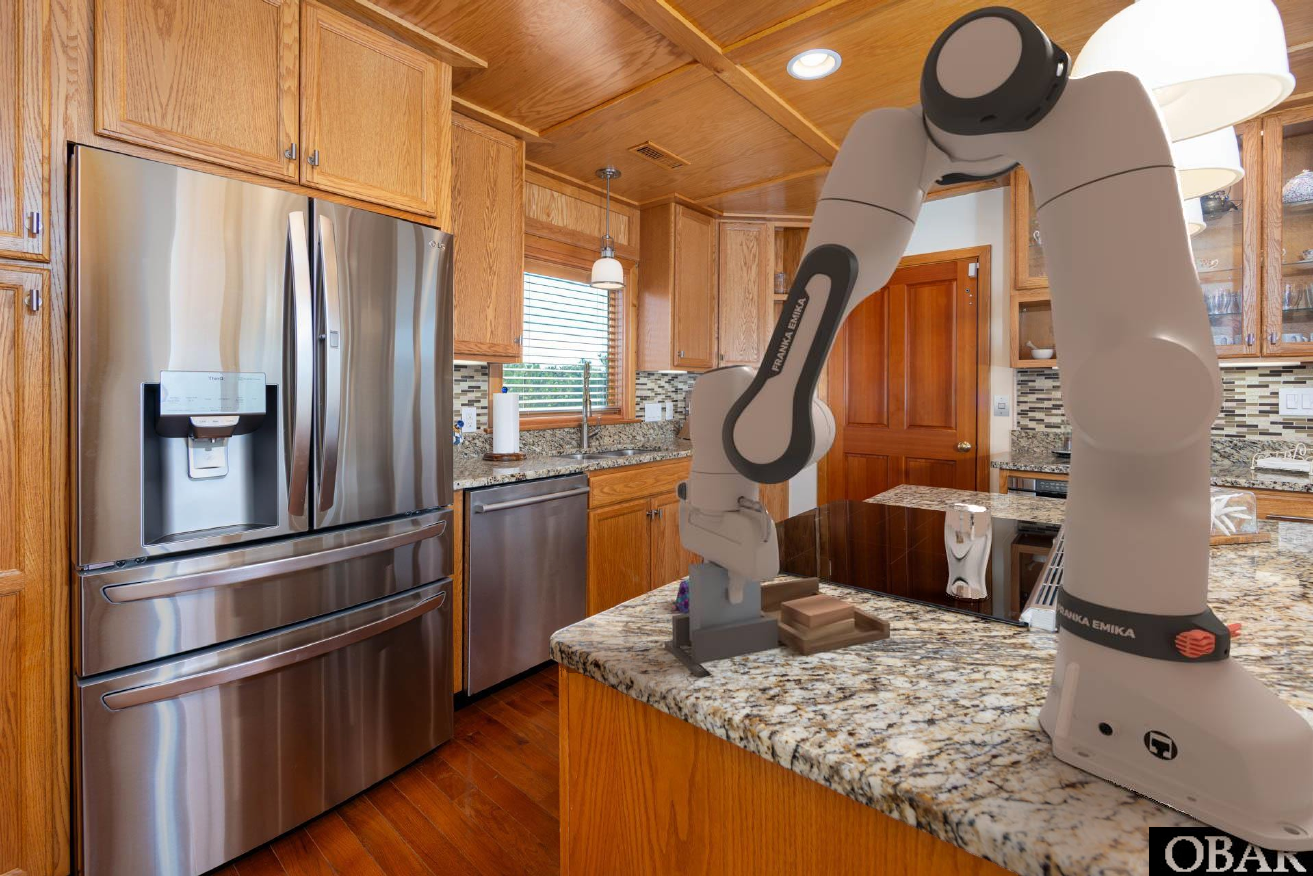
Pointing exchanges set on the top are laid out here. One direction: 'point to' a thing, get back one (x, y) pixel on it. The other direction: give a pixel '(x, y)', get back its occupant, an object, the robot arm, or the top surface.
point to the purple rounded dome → (683, 597)
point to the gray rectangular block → (719, 598)
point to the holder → (720, 641)
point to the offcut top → (817, 611)
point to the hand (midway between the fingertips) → (725, 596)
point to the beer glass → (967, 549)
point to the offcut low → (822, 629)
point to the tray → (865, 631)
